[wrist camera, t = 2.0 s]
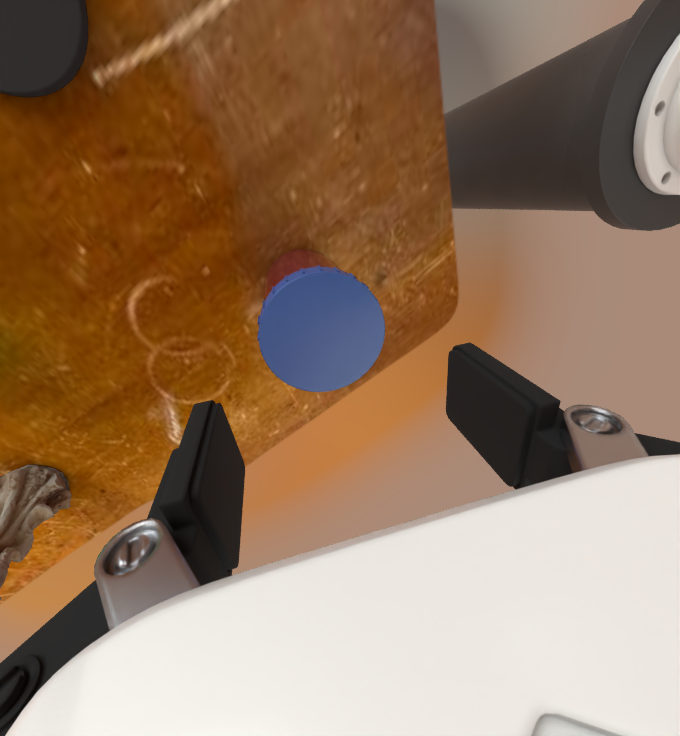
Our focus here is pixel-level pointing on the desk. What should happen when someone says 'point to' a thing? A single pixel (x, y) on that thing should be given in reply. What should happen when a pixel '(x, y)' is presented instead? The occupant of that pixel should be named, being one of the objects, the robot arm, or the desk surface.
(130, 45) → the desk surface
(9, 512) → the figurine
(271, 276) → the jam jar
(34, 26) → the coaster
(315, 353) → the jam lid
